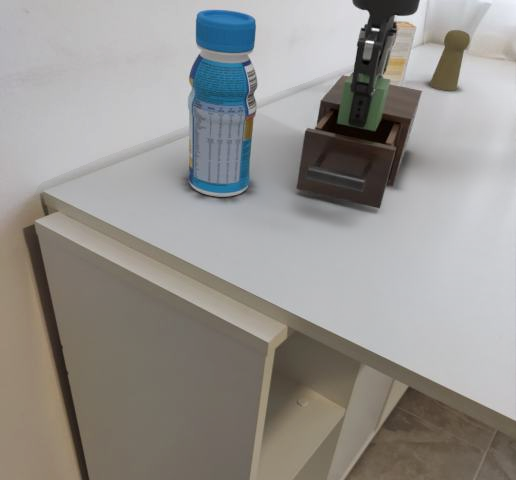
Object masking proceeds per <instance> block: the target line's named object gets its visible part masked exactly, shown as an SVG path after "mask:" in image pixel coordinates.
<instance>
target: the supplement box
mask: <svg viewBox="0 0 516 480" xmlns="http://www.w3.org/2000/svg"><path fill="white" fill-rule="evenodd" d="M394 22H397V24H396V25H397V29H398V31H397V36H396V40H395V43H394V45H393V46H392V51H391V56H390V61H389V63H388V66H387V67H386V68H387V69H386V72H385V73H384V75H383V78H386V79H390V80H391V81H390V85H396V86H401V87H403V84H404V80H405V75H406V72H407V68H408V63H409V60H410V55H411V50H412V48H413V44H414V39H415V34H416V31H417V26H416V25H414V24H413V23H412V22H409V21H404V20H394Z"/></svg>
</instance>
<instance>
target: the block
mask: <svg viewBox="0 0 516 480" xmlns="http://www.w3.org/2000/svg"><path fill="white" fill-rule="evenodd" d="M353 72H354V71H352V72H351V73H350V75H348V76H349V77H348V78H347V80H346V81H345V82H344V88H343V93H342V99H341V104H340V110H339V115H338V120H337V124H342V125H347V126H351V125H350V124H349V123H348V120H349V115H350V110H351V105H352V100H353V95H354V93H352V92H351V88H350V86H351V83H352V78H353ZM369 79H370V77H369V75H364V74H362V75H361V79H360V82H366V83H369ZM390 81H391V80H390V79H386V78H380V77H378V78H377V81H376V85H375V93H374V94H373V96H372V99H371V104H370V108H369V113H368V117H367V122H366V125H365V126H364V127H362V128H361V127H357V128H361V129H366V130H371V131H376V129H377V127H378V125H379V123H380V121H381V119H382V114H383V110H384V106H385V102H386V97H387V93H388V89H389V85H390ZM352 127H356V126H352Z"/></svg>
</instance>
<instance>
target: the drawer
mask: <svg viewBox="0 0 516 480" xmlns="http://www.w3.org/2000/svg"><path fill="white" fill-rule="evenodd" d="M338 115H339V110H336V109H331V108H330V109H329V110H328V112H327V113H326V114H325V116H324V117H323V118H322V119H321V121H320V122H319V123H318V124H317V123H316V126H315V127H314V128H310V127H307V128H306V129H305V131H304V136H303V137H304V138H303V144H302V150H301V156H300V162H299V169H298V177H297V184H296V190H299V191H304V192H307V193H312V194H317V195H320V196H325V197H329V198H334V199H338V200H340V201H341V200H342V201H345V202H350V203H354V204H358V205H362V206H363V205H364V206H367V207H370V208H371V207H372V208H376V209H380V208H381V206H382V203H383V200H384V199H383V198H384V196H385V195H384V194H385V191H386V187H387V185H386V184H387V180H388V177H389V173H390V169H391V166H392V162H393V158H394V154H395V151H396V147H395V145H396V142H397V138H398V134H399V130H400V127H401V123H399V122H394V121H389V120H384V119H381V121H380V123H379V125H378V127H377V129H376V131H371V130H366V129H361V128H357V127H352V126H347V125H342V124H337V120H338Z"/></svg>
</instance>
